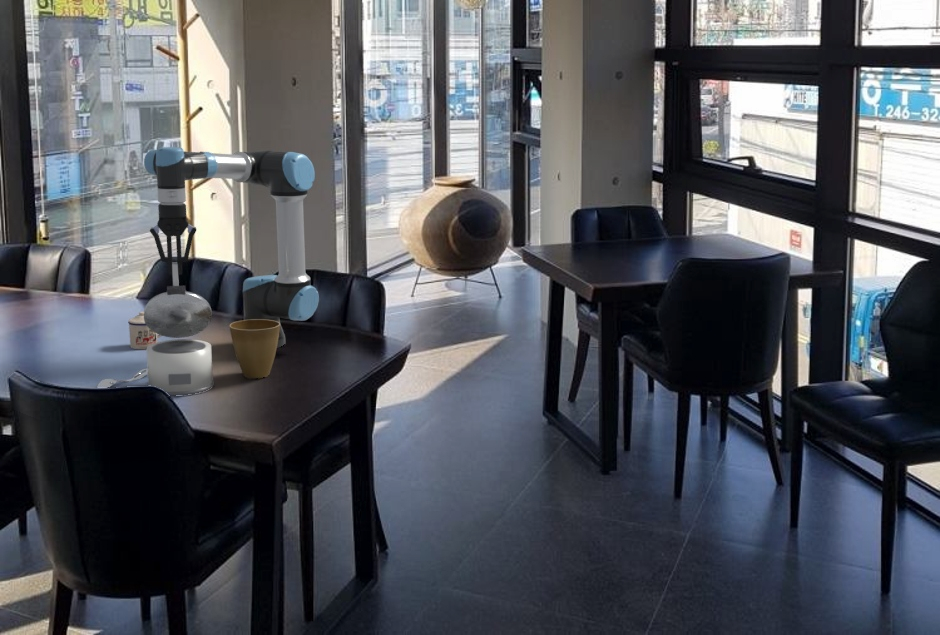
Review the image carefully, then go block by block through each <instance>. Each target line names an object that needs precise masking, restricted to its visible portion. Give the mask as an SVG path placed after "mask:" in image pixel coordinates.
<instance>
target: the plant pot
mask: <svg viewBox="0 0 940 635" xmlns="http://www.w3.org/2000/svg"><path fill="white" fill-rule="evenodd" d="M280 324H281V322H280V323H279V322H277V321H273V320H265V319H251V320H244V319H243V320H238V321H233V322H231V323H230V324H229V330H230V331H229V332H230V336H231V341H232V346H233V349H234V353H235V356H236V359H237V362H238V364H239V367H240V370H241V373H242V375H243V377H244V376H245V377H244V378H246V377H248V378H247V379H251V378H258V379H263V377H265V378H267V377H269V376H268V375H270V373H271V371H272V367H273V364H274V360H275V358H276V354H277V353H276V352H277V349H278V348H277V344H278V338H279V330H280Z"/></svg>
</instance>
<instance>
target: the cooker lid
mask: <svg viewBox="0 0 940 635" xmlns="http://www.w3.org/2000/svg"><path fill="white" fill-rule="evenodd" d="M143 312H144V321H145V323H146V325H147V326H148V327H149V329H151V330H152V331H153V332H155V333H157V335H162V337H166V338H173V339H175V338H178V339H181V338H189V337H192V336H195V335H197V334H198V335H199V333H201V332H203V331H205V329H206V328H208V326H209V325H210V323H211V322H212V318H213V317H212V314H213V313H212V308H211V304H210V303H209V302H208V300H206V299H205V298H204V297H203V296H201V295H200V294H197V293H194V292H191V291H187V290H186V285H179V286H173V285H167V286H166V292H162V293H159V294H156V295H155V296H153V297H152V298H150V299H149V301H148V302H146V305H145V306H144V308H143Z"/></svg>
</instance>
